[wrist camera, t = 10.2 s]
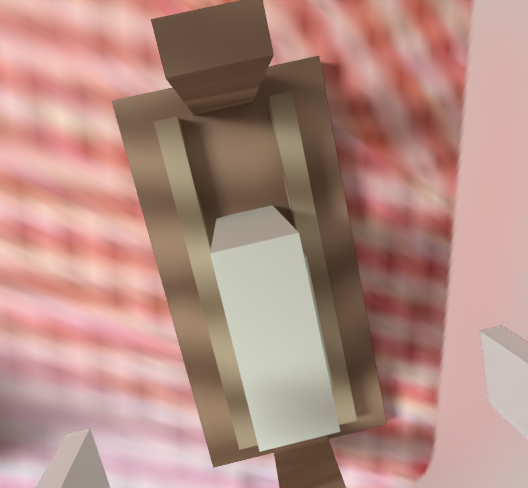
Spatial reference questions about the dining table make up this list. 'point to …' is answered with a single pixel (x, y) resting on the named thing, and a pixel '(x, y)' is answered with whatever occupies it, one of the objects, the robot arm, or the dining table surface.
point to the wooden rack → (240, 200)
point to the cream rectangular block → (274, 327)
